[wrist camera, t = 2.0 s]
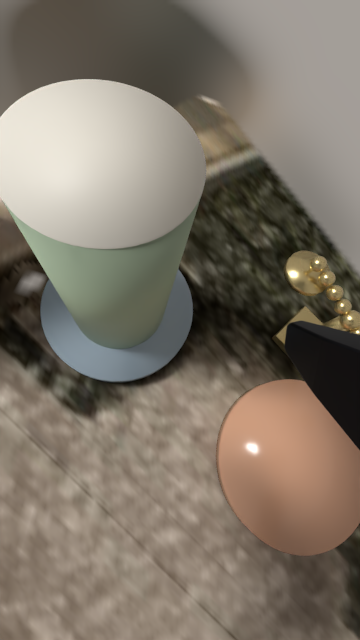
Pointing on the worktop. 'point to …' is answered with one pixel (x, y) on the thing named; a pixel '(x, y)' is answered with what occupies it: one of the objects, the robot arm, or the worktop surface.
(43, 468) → the worktop surface
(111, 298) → the canister
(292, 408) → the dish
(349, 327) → the balance
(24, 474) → the worktop surface
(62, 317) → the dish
